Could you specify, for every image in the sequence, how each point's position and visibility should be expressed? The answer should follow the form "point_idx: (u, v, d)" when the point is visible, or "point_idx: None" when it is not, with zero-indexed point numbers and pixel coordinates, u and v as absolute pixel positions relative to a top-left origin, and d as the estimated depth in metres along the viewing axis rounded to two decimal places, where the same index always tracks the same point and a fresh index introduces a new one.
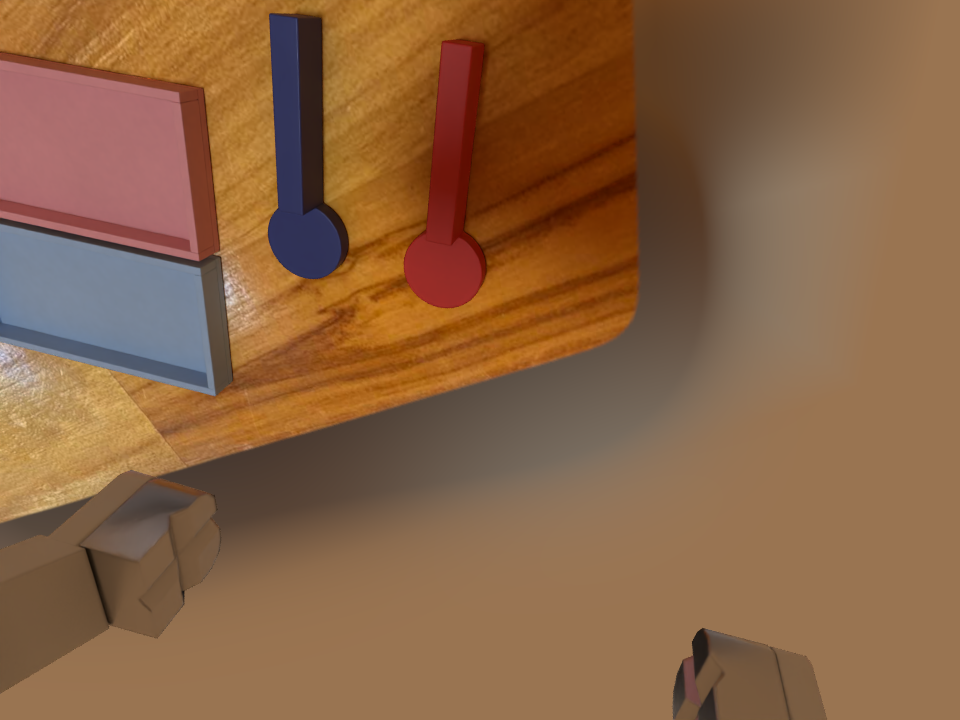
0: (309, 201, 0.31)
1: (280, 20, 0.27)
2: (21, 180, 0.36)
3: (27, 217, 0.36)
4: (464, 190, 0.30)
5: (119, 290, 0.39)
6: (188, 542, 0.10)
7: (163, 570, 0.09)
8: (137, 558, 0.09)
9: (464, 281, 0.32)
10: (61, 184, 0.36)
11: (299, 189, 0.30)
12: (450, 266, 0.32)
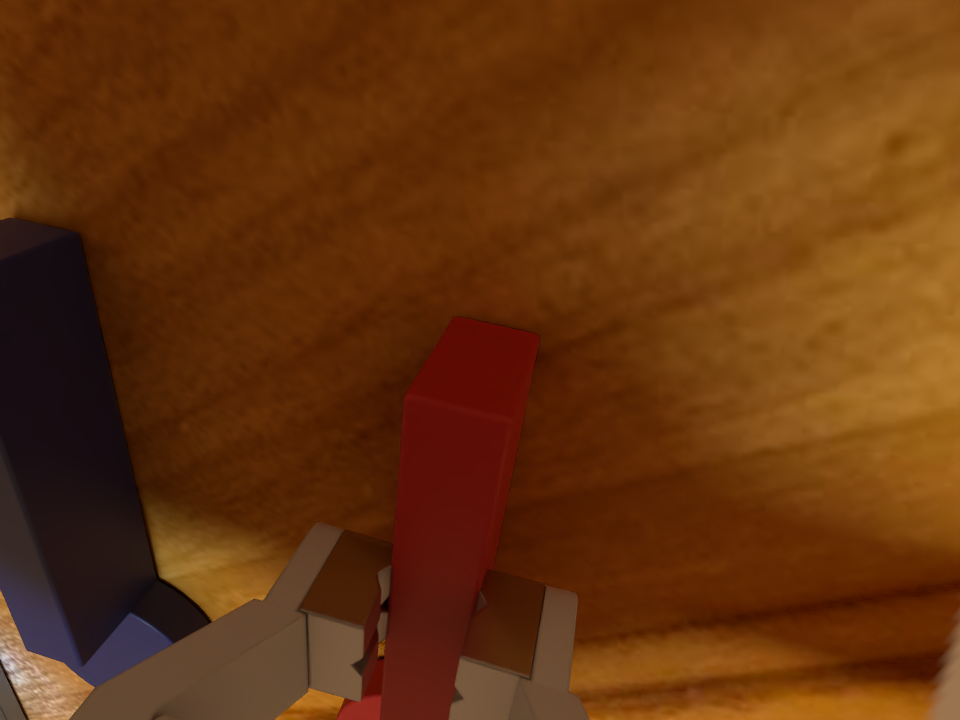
0: (103, 623, 0.13)
1: None
2: None
3: None
4: None
5: None
6: (384, 599, 0.09)
7: (372, 632, 0.09)
8: (361, 625, 0.08)
9: None
10: None
11: (60, 627, 0.12)
12: None
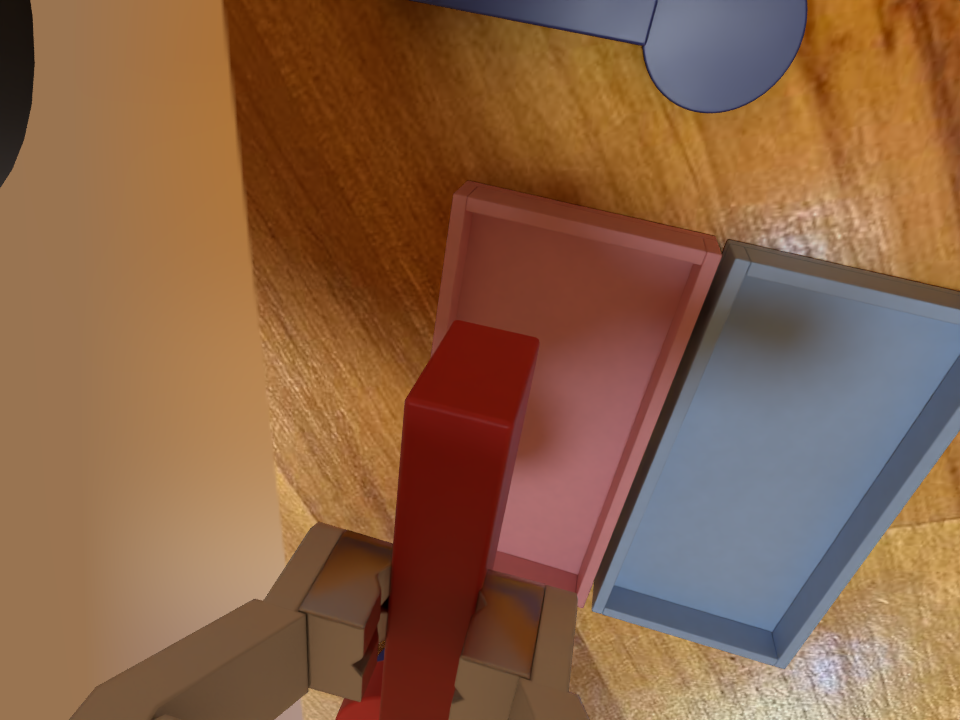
0: None
1: None
2: (571, 493, 0.27)
3: (614, 504, 0.25)
4: None
5: (754, 436, 0.24)
6: (384, 598, 0.09)
7: (372, 632, 0.09)
8: (361, 625, 0.08)
9: None
10: (580, 443, 0.26)
11: None
12: None
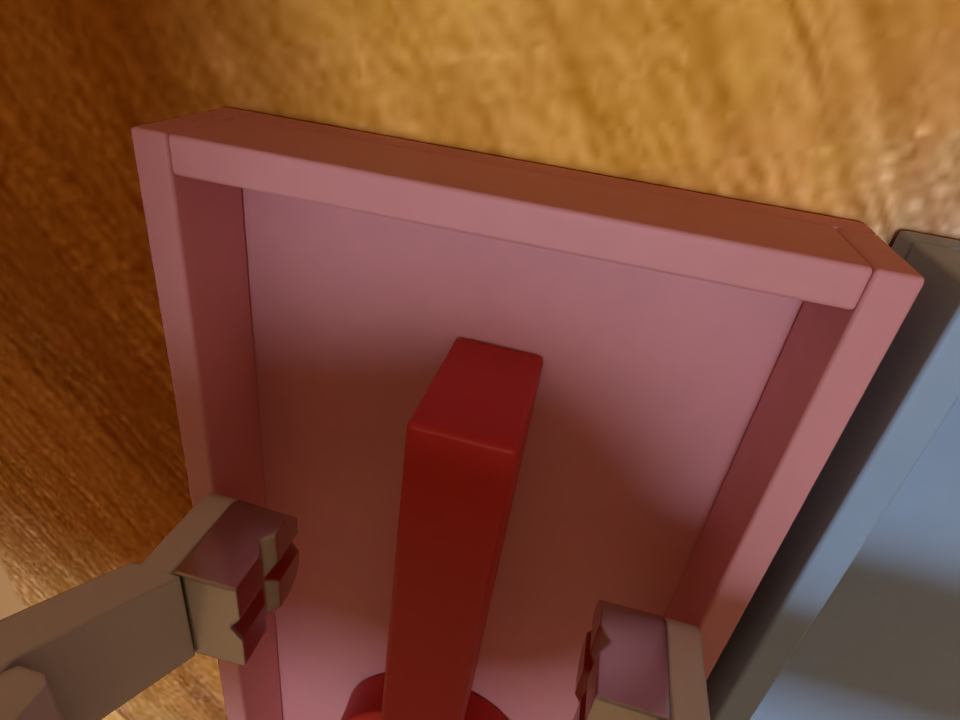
0: None
1: None
2: None
3: None
4: (475, 663, 0.12)
5: (933, 676, 0.10)
6: (272, 566, 0.10)
7: (253, 597, 0.09)
8: (233, 586, 0.08)
9: None
10: (546, 659, 0.13)
11: None
12: None
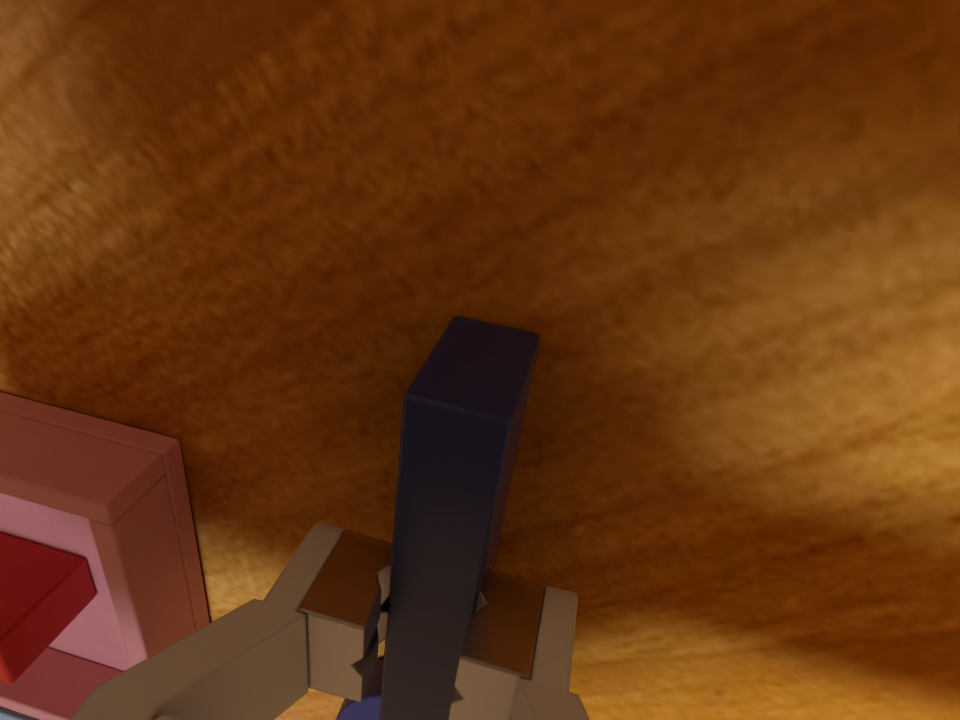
0: None
1: (444, 417, 0.07)
2: None
3: None
4: None
5: None
6: (384, 599, 0.09)
7: (372, 632, 0.09)
8: (361, 625, 0.08)
9: None
10: None
11: None
12: None
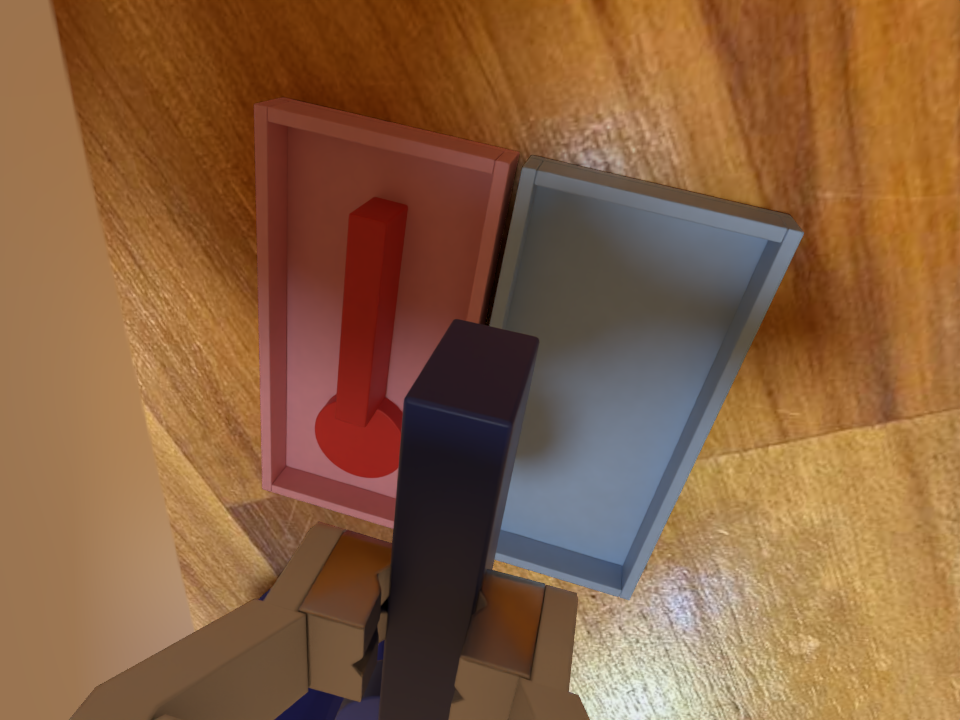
0: None
1: (443, 421, 0.07)
2: None
3: None
4: (383, 362, 0.25)
5: (579, 360, 0.24)
6: (384, 599, 0.09)
7: (372, 632, 0.09)
8: (361, 625, 0.08)
9: (385, 454, 0.27)
10: (419, 371, 0.26)
11: None
12: (368, 437, 0.27)
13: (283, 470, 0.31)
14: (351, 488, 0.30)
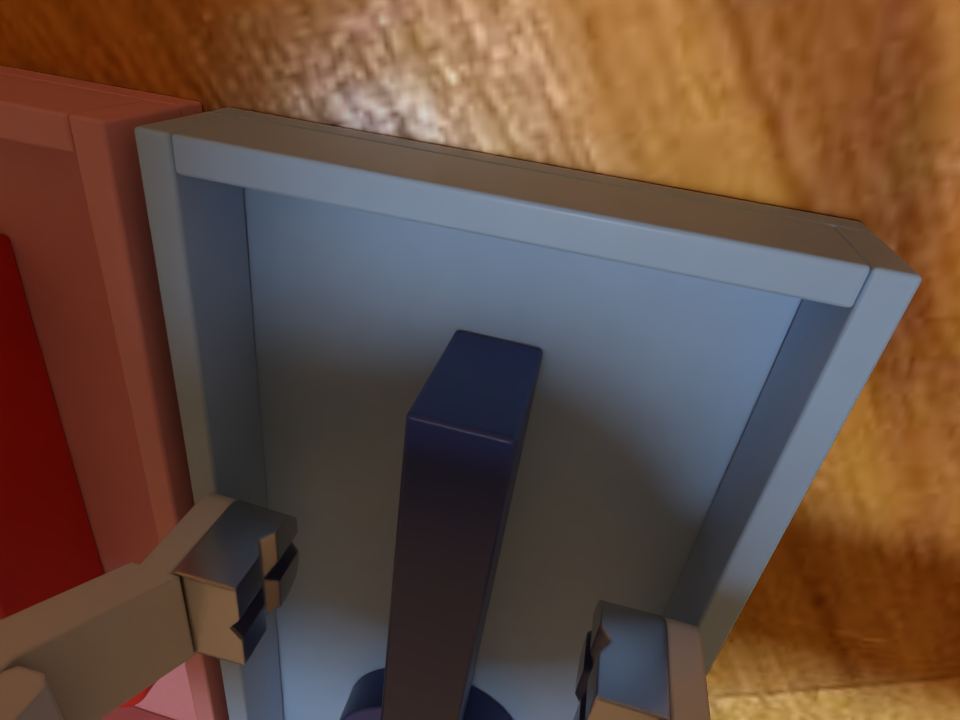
0: None
1: (446, 438, 0.07)
2: None
3: (186, 661, 0.13)
4: (55, 536, 0.13)
5: None
6: (272, 566, 0.10)
7: (252, 597, 0.09)
8: (233, 587, 0.08)
9: None
10: (145, 540, 0.14)
11: None
12: None
13: None
14: None
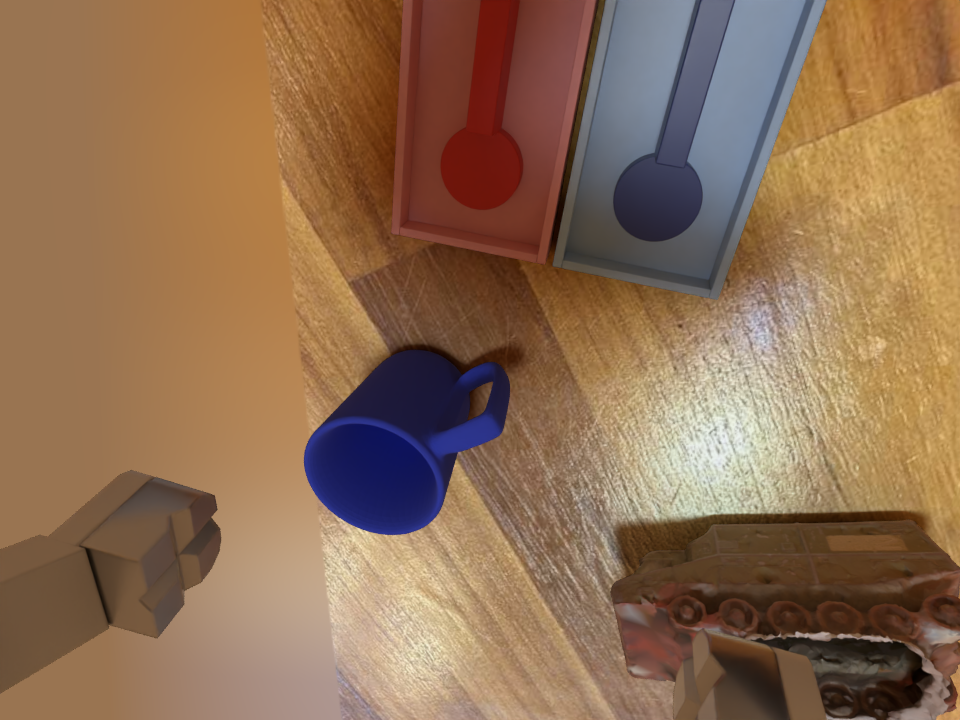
0: None
1: None
2: (529, 153, 0.32)
3: (561, 136, 0.30)
4: (505, 80, 0.30)
5: (674, 59, 0.29)
6: (188, 542, 0.10)
7: (163, 570, 0.09)
8: (137, 558, 0.09)
9: (502, 180, 0.32)
10: (533, 95, 0.31)
11: (690, 138, 0.28)
12: (488, 164, 0.32)
13: (406, 222, 0.35)
14: (466, 232, 0.35)
